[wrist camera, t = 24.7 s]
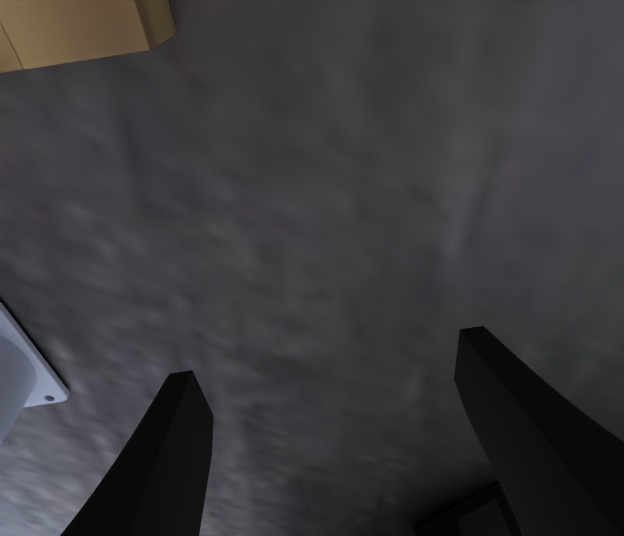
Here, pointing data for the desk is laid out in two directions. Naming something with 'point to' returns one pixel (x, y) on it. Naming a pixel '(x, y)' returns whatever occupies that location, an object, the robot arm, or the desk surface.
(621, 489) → the robot arm
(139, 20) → the holder
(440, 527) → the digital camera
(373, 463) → the desk surface
